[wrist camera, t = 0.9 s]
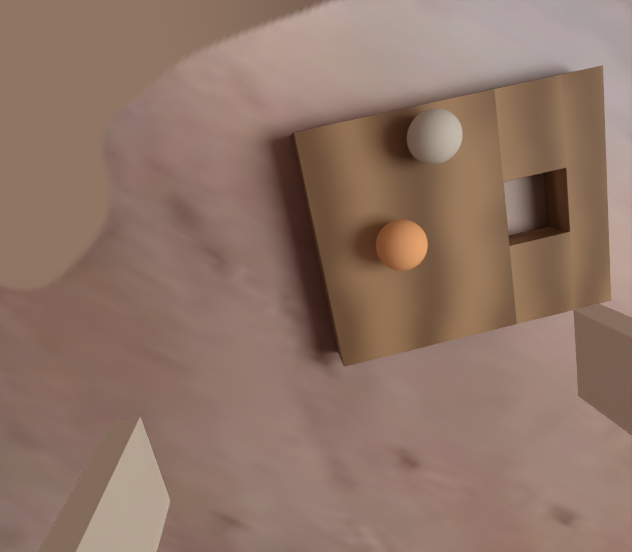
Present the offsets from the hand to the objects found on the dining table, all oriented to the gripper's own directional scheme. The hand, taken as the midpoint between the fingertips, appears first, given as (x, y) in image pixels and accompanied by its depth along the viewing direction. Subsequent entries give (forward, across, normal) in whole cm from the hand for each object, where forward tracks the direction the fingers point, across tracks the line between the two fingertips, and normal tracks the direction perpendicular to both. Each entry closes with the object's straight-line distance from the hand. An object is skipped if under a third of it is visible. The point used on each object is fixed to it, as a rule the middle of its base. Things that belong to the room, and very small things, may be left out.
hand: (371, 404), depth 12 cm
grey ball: (+16, +9, +6) cm, 19 cm away
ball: (+16, +6, 0) cm, 17 cm away
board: (+20, +11, 0) cm, 23 cm away
